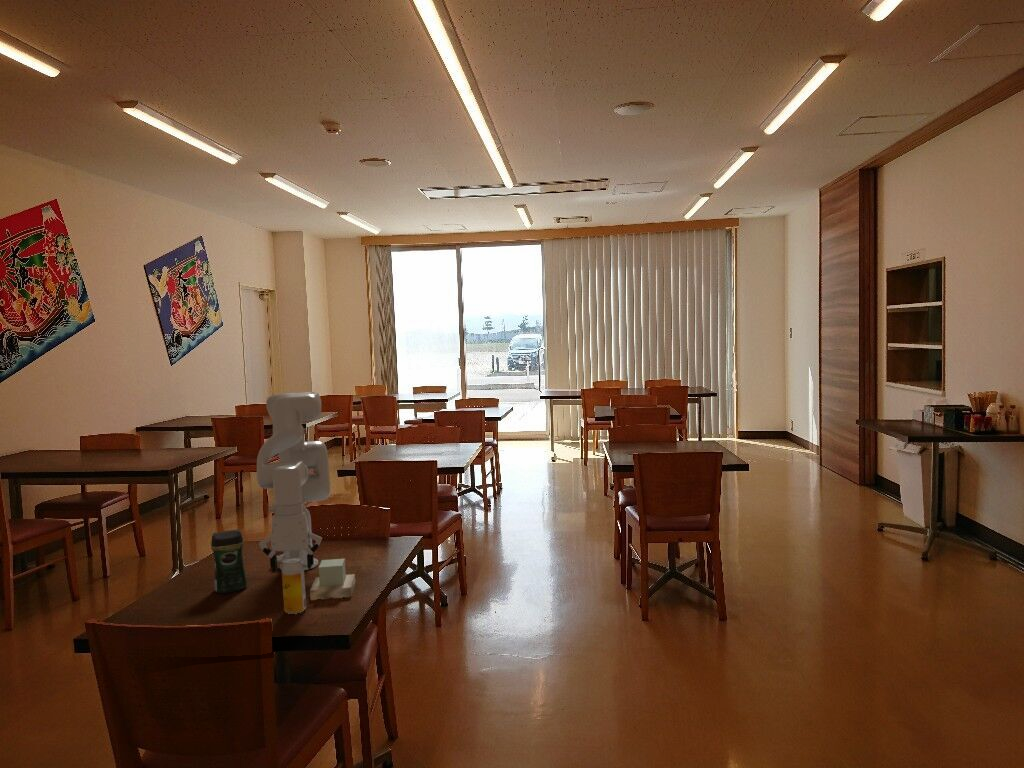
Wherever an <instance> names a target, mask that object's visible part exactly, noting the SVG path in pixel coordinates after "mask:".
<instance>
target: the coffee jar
mask: <svg viewBox="0 0 1024 768" xmlns="http://www.w3.org/2000/svg"><path fill="white" fill-rule="evenodd" d="M244 542H245V541H244V538H243V534H242V531H241V530H240V529H233V530H232V529H231V530H224V531H218V532H213V533H212V535H211V542H210V543H211V544H210V549H211V551H212V553H213V558H214V577H213V578H214V582H213V583H214V584H213V585H214V591H215V592H216V593H219V594H224V593H225V594H226V593H232V592H236V591H237V592H238V591H241V590H244V589H245V588H246V587H247V585H248V579H247V574H246V570H245V569H246V568H245V565H244V564H245V563H244V556H243V548H244V544H245V543H244Z"/></svg>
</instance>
